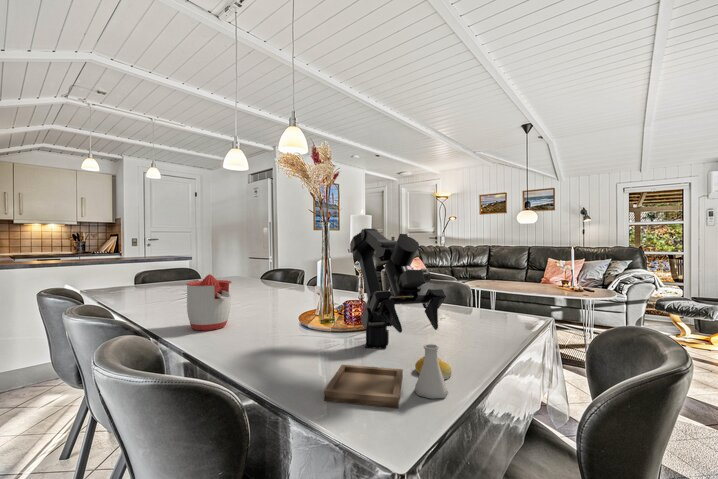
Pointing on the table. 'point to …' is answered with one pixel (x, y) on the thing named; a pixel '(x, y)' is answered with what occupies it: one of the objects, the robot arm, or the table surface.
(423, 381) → the flask
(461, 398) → the table surface
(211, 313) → the citrus juicer
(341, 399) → the walnut tray
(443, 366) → the bread roll
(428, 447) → the table surface
